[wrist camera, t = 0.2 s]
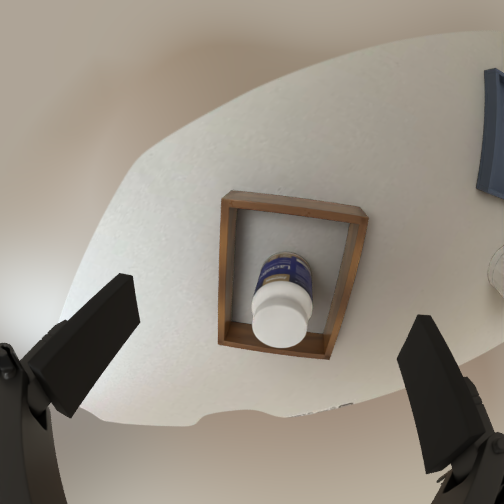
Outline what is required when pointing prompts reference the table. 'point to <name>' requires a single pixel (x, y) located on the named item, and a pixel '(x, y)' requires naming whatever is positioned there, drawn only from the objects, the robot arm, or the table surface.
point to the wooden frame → (324, 343)
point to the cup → (497, 271)
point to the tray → (493, 136)
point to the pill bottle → (282, 300)
